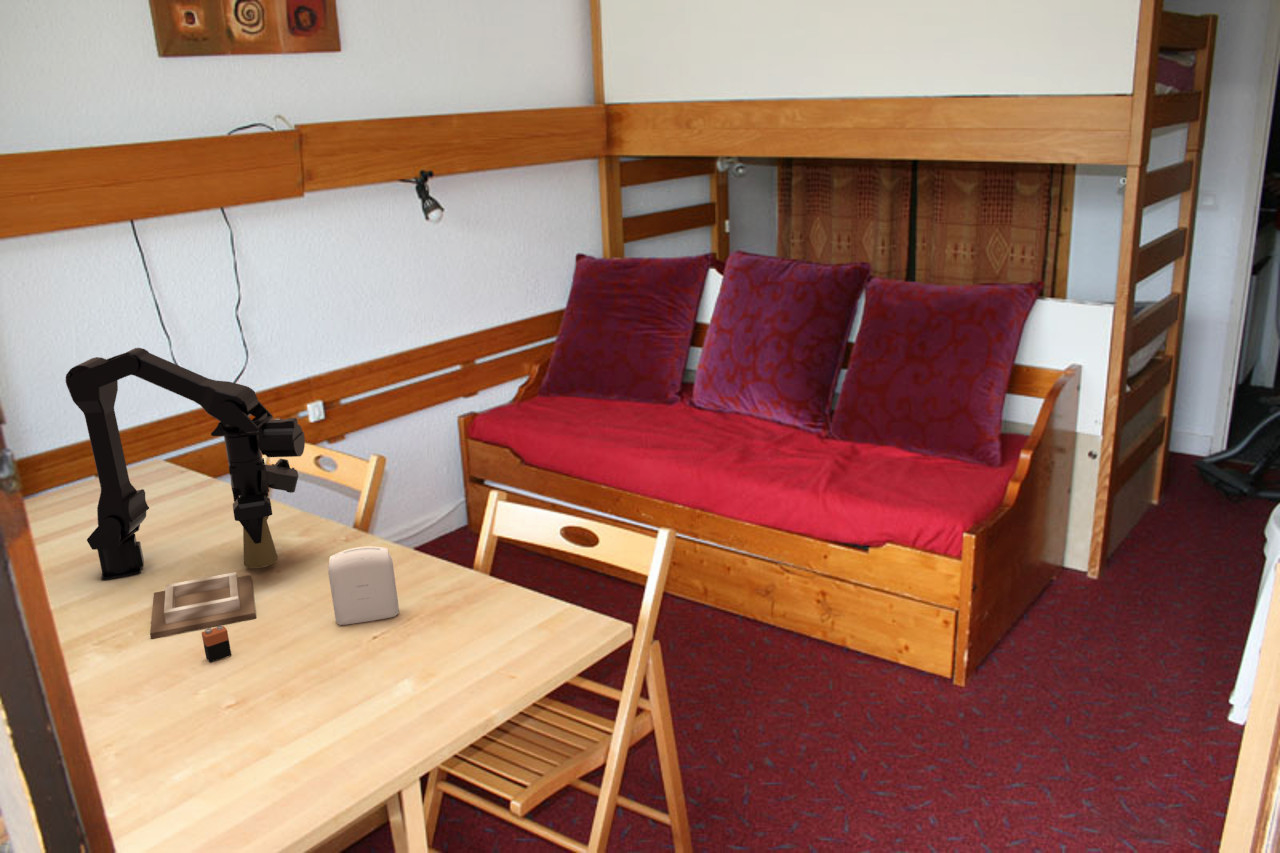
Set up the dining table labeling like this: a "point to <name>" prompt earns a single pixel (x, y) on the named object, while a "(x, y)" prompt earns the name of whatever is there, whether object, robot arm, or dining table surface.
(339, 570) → the photo printer
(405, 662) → the dining table surface
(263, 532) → the cork
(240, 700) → the dining table surface
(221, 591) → the socket board
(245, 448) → the robot arm
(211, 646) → the battery
